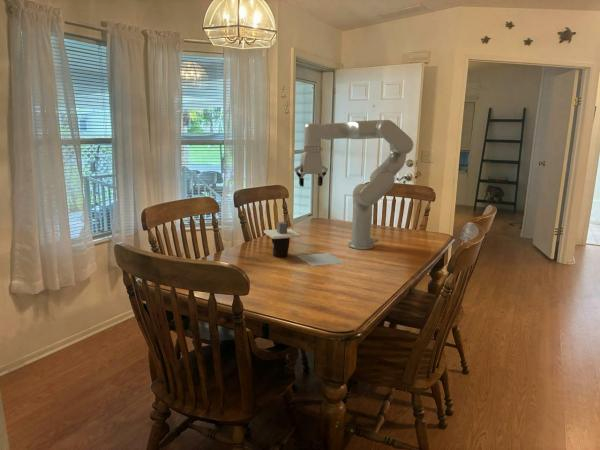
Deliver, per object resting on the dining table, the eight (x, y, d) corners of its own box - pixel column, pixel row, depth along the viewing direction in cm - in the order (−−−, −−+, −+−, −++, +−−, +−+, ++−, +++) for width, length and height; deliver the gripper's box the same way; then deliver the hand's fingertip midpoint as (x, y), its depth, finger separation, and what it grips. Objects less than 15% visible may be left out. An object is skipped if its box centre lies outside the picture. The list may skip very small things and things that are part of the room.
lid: (289, 230, 211) (290, 219, 210) (300, 236, 199) (300, 224, 198) (263, 232, 206) (263, 220, 205) (273, 238, 194) (273, 226, 193)
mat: (327, 253, 210) (328, 252, 210) (344, 263, 195) (344, 262, 195) (296, 256, 203) (296, 255, 203) (311, 267, 189) (311, 265, 189)
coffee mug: (287, 260, 198) (288, 238, 196) (268, 258, 200) (269, 236, 198) (293, 253, 209) (293, 232, 207) (275, 251, 211) (275, 231, 209)
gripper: (324, 149, 219) (323, 184, 222) (292, 149, 212) (291, 185, 215) (331, 150, 212) (330, 186, 215) (298, 150, 205) (297, 187, 209)
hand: (310, 185), depth 215 cm, fingers open, 9 cm apart
